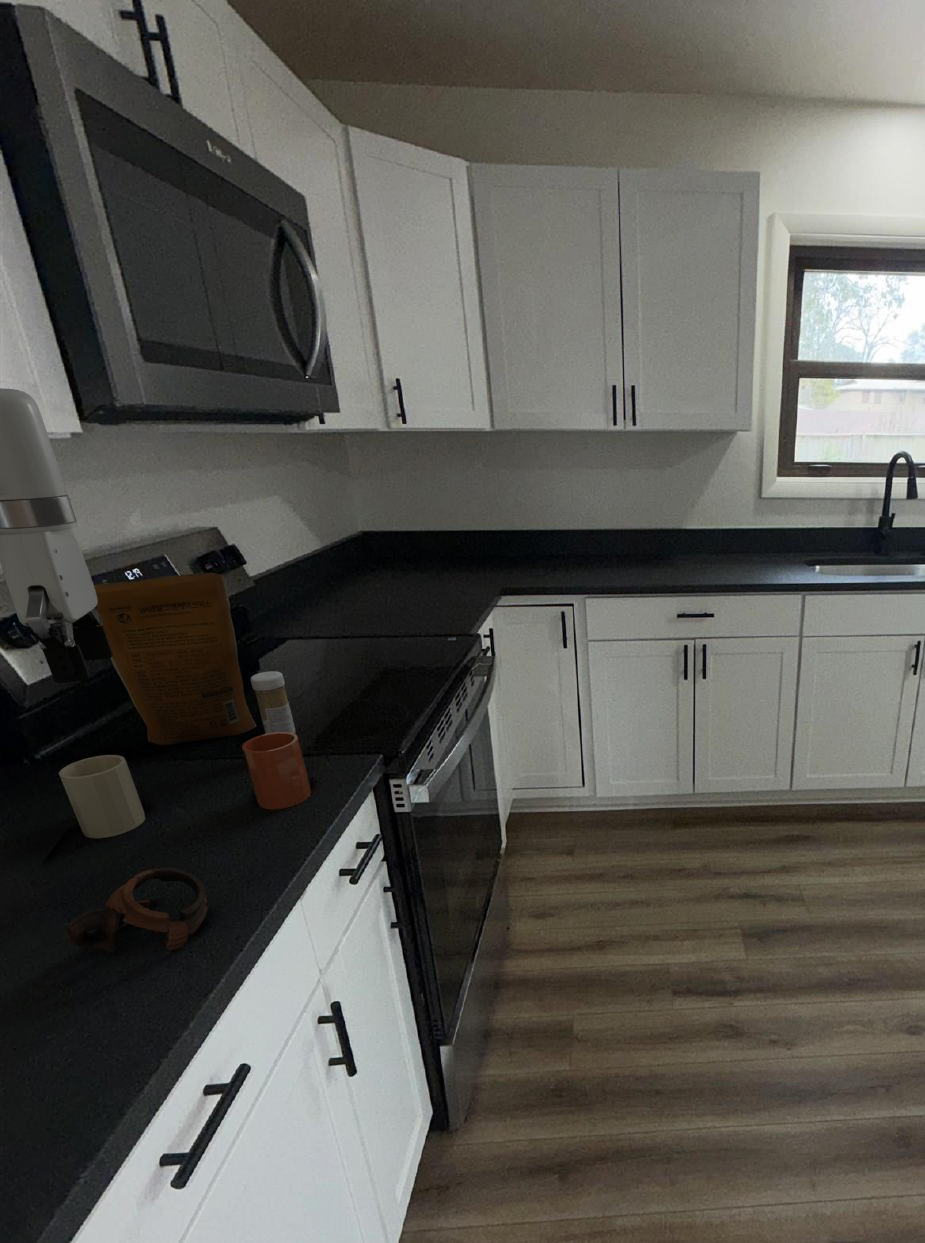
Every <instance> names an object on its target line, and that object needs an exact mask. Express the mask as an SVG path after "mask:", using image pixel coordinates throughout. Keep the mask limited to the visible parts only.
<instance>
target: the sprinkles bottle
mask: <svg viewBox="0 0 925 1243" xmlns="http://www.w3.org/2000/svg"><path fill="white" fill-rule="evenodd" d="M250 682H251V687H252V689H253V690H254V692H255V696H256V700H257V706H258V708H259V709H258V710H259V712H260V713H259V714H260V718H261V721H262V725H263V730H264V734H268V733H276V732H289V733H294V734H296V735H297V733H296V728H295V727H296V726H295V723H294V718H293V715H292V710H291V706H290V703H289V701H288V696H287V691H286V686H285V679H284V675H283V673H282V672H280V671H275V670H271V671H262V672H258V673H256V674H254V675H252V676H251V677H250Z"/></svg>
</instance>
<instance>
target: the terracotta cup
mask: <svg viewBox="0 0 925 1243" xmlns="http://www.w3.org/2000/svg"><path fill="white" fill-rule="evenodd" d="M299 739H300V738H299V736H298V735H297V733H296V734H294V733H289V732H276V733H268V734H265V733H264V734H259V735H257V736H255V737H252V738H250V739H248V740H246V741H245V742H243V743H242V746H241V751H242V753H243V758H244V761H245V765H246V767H247V772H248V775H249V778H250V782H251V785H252V789H253V793H254V796H255V800H256V801H257V802H256V803H257V805H258V806H259V807H260V808H262V809H264V810H281V809H282V810H283V809H287V808H291V807H294V806H297V805H299V804H301V803H303V802H306V801H307V799H309V798H310V797H311V795H312V790H311V784H310V780H309V775H308V772H307V768H306V763H305V759H304V755H303V752H302V748H301V743H300V740H299ZM310 794H311V795H310ZM308 797H309V798H308Z"/></svg>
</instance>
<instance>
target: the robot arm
mask: <svg viewBox="0 0 925 1243" xmlns="http://www.w3.org/2000/svg"><path fill="white" fill-rule="evenodd" d="M77 527H79V523H78V521H77V518H76V514H75V512H74V508H73V506H72V502H71V499H70V497H69V495H68V490H67V487H66V484H65V481H64V479H63V476H62V472H61V470H60V467H59V463H58V461H57V458H56V455H55V452H54V449H53V446H52V443H51V440H50V437H49V434H48V430H47V427H46V425H45V422H44V419H43V416H42V413H41V411H40V408H39V405H38V403H37V402H36V400H35V399H34V398H33V396H31V395H30V394H29V393H27V392H25V391H23V390H19V389H15V388H14V389H13V388H5V387H4V388H1V387H0V566H1V570H2V574H3V576H4V581H5V583H6V585H7V589H8V593H9V595H10V599H11V601H12V604H13V607H14V610H15V613H16V616H17V618H18V621H19V623H20V624H22V625H23V626H25V627H30V629H31V630H32V631H33V637H34V638H35V639H36V640H37V641H38V646H39V648H40V650H42V652H43V656H44V658H45V660H46V663H47V665H48V669H49V670H50V674H51V677H52V678H53V681H54V682H55V683H57V684H66V683H75V682H84V681H88V680H89V679H90V678H91V675H90V672H89V669H88V666H87V664H86V661H87V662H88V661H97V660H106V659H107V660H108V659H111V657H112V656H113V653H112V650H111V647H110V644H109V641H108V638H107V635H106V632H105V629H104V627H103V626H97V625H102V619H101V617H100V615H99V614H98V612H97V608H98V606H96V605H97V602H98V600H97V595H96V591H95V588H94V585H95V584H94V581H93V579H92V576H91V573H90V571H89V567H88V564H87V562H86V560H85V557H84V554H83V553H82V549H81V547H80V544H79V542H78V540H77V538H76V536H75V533H74V531H73V529H75V528H77ZM57 628H61V632H60V630H59V629H57Z"/></svg>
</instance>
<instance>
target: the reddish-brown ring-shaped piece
mask: <svg viewBox="0 0 925 1243" xmlns="http://www.w3.org/2000/svg"><path fill="white" fill-rule="evenodd" d="M156 879H158V880H160V882H183V883H184V884H186V885H187V886H189V888H190V889H192V890H193V892H194V893H195V899H194V901H193V902H192V903H191V904H190V905H189V906H187V907H185V908H183V909H181V910H180V911H179V913H178V914H179V919H174V920H169V919H170V916H169V913H168V912H163V911H156V910H151V909H149V906H150V904H151V901H150V899H149V900H148V899H146V900H139V901H136V900H135V898H134V891H135V890H137V889H138V888H140V887H141V886H142V885H143V884H144V883H146V882H147V881H150V880H156ZM207 904H208V899H207V896H206V889H205V886H204V883H203V882H202V881H201V879H199V878H198V877H197V876H196V875H195V874H192V873H190V872H189V871H186V870H183V869H180V868H177V867H176V868H175V867H155V868H152V869H148V870H144V871H141V872H139V873H136V874H135V875H134V876H132V877H131V878H130V879H129V880H128V881H127V882H126V883H124V884H123V885H121V886H120V887H118V888H117V889H116V890H115V891H114V892H113V893H112V894H111V895H110V896H109V897H108V899H107V901H106V902H105V903H104V906H102V907H100V908H95V909H89V910H87V911H86V912H83V913H81V914H79V915H77V916H76V917H75V918H73V919H72V920H71V921H69V924H68V926H67V928H66V931H65V937H66V939H67V941H68V942H70V943H72V945H74V946H76V947H78V948H82V949H88V950H91V949H93V950H94V949H99V950H103V951H105V952H107V953H111V954H112V953H114V952H115V951H116V949H117V948H116V945H115V936H116V931H117V930H118V928H120V927H121V926H123V925H124V924H128V925H131V926H134V927H137V928H139V929H140V928H141V929H145V930H149V931H153V932H157V933H166V935H167V941H166V943H165V946H164V947H165V949H166V951H169V952H170V951H174V950H179V949H182V948H183V947H184V946H185V944H186V942H188V937H189V936H193V935H194V934H195V932H197V930H198V929H199V927H200V926H201V924H202V923H203V921H204V920H205V918H206V916H207V913H208V910H209V907H208V906H207ZM93 930H96V931H94V932H93V933H92V932H91V933H90V931H93Z"/></svg>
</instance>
